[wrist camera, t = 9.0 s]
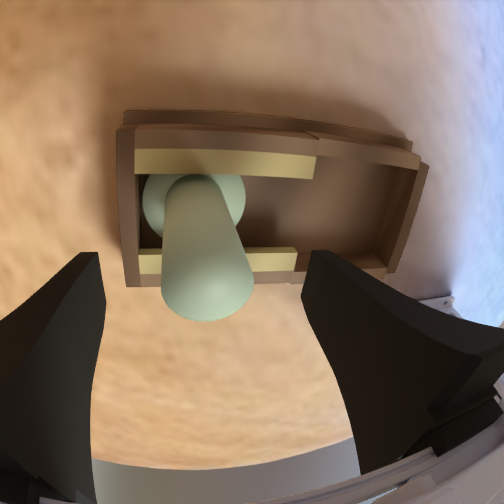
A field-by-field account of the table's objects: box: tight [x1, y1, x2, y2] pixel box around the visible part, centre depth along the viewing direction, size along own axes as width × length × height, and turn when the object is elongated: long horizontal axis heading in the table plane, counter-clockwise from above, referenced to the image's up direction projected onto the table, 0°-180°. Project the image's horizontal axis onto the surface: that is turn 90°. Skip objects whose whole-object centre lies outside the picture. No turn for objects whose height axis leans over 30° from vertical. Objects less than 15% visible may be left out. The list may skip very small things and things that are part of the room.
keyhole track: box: [116, 110, 429, 287], centre depth 16 cm, size 16×9×2 cm, turn 83°
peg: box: [143, 174, 254, 321], centre depth 13 cm, size 5×5×8 cm
